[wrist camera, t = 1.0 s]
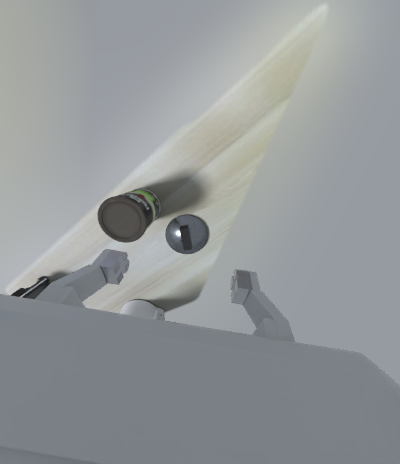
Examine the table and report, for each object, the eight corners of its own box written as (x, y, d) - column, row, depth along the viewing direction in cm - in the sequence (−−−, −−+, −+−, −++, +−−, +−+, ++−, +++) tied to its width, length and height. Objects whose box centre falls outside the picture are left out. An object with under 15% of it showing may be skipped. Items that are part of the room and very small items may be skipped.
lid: (209, 249, 54) (210, 255, 50) (171, 254, 54) (169, 261, 50) (203, 211, 49) (204, 215, 45) (161, 218, 49) (158, 222, 46)
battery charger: (38, 274, 56) (1, 299, 46) (49, 278, 57) (15, 304, 46) (35, 288, 58) (-1, 315, 48) (46, 292, 59) (13, 319, 49)
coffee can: (133, 181, 45) (106, 186, 32) (166, 200, 47) (154, 212, 34) (120, 212, 48) (90, 228, 35) (151, 228, 50) (135, 250, 37)
